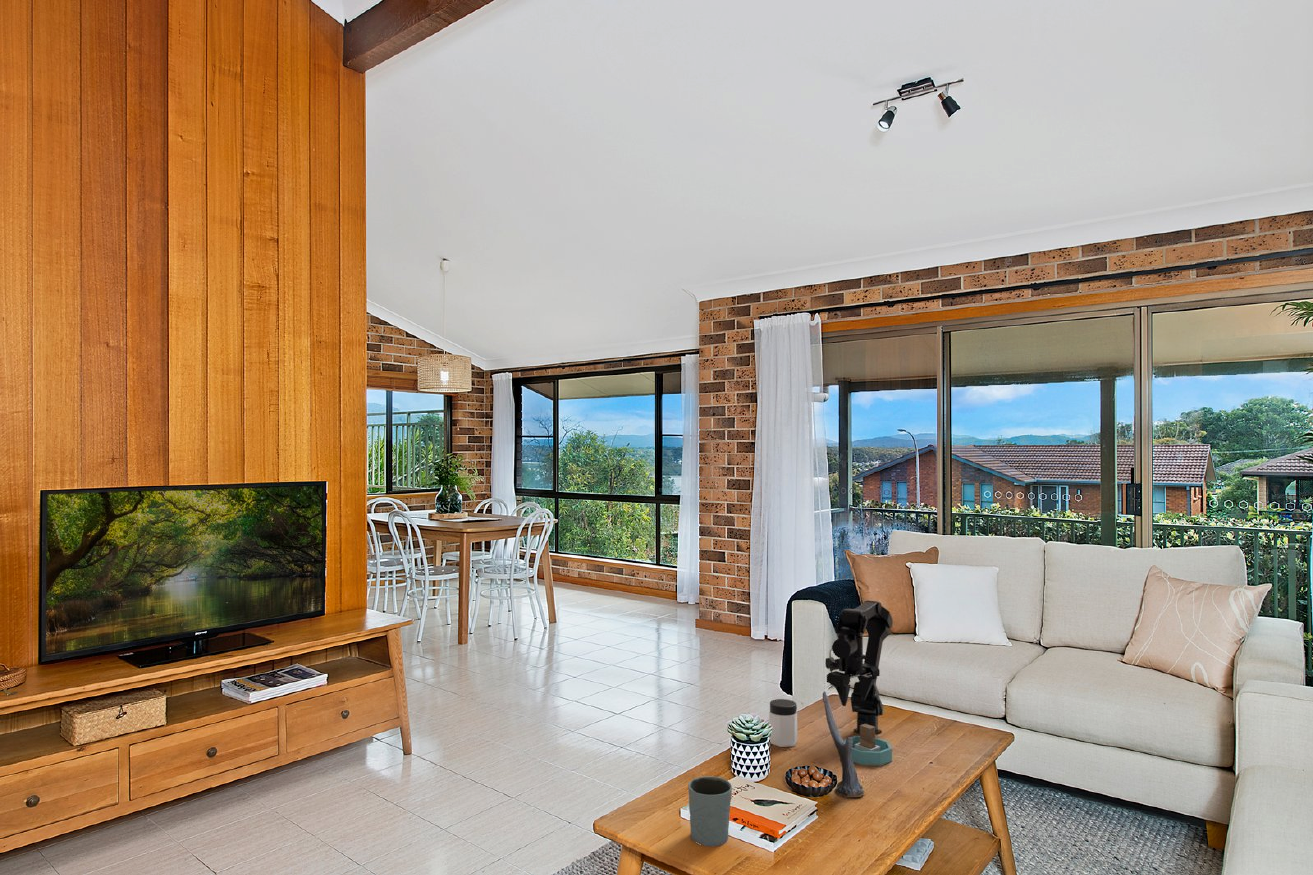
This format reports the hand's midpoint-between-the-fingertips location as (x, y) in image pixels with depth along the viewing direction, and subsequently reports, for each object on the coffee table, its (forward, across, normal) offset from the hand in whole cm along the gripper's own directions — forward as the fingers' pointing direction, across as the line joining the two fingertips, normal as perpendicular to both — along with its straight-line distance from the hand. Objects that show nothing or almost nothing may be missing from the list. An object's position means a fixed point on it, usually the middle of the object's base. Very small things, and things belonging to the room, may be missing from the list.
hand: (853, 702), depth 240 cm
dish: (+12, +5, +9) cm, 16 cm away
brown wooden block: (+12, +5, +9) cm, 15 cm away
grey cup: (+12, +74, +17) cm, 77 cm away
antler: (+12, +30, +20) cm, 38 cm away
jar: (+13, +16, -14) cm, 25 cm away
